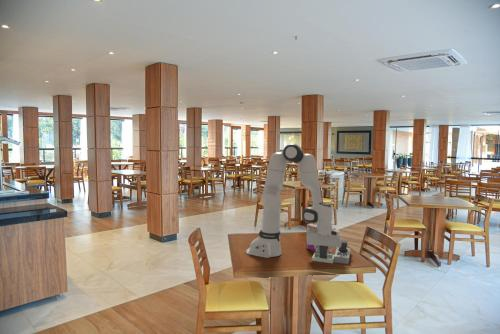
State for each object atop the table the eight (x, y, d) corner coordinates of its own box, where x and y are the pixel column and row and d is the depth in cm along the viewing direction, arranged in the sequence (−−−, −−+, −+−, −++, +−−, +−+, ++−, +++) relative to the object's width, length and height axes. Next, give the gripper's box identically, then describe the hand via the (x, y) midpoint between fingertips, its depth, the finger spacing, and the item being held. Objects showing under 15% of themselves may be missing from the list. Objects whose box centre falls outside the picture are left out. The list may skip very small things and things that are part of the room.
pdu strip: (334, 263, 199) (334, 255, 199) (337, 253, 218) (337, 245, 218) (348, 265, 196) (348, 257, 196) (350, 254, 216) (350, 247, 215)
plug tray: (312, 261, 201) (312, 257, 201) (314, 256, 211) (314, 252, 211) (332, 264, 198) (333, 260, 197) (334, 258, 207) (334, 254, 207)
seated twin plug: (338, 255, 210) (338, 242, 209) (339, 252, 214) (339, 240, 214) (346, 255, 208) (347, 243, 208) (347, 253, 213) (347, 240, 212)
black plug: (318, 260, 203) (319, 246, 202) (319, 257, 207) (320, 244, 207) (327, 261, 201) (327, 247, 201) (327, 258, 206) (328, 245, 205)
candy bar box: (305, 248, 226) (306, 224, 225) (311, 247, 229) (311, 223, 228) (317, 253, 217) (317, 228, 216) (322, 252, 219) (323, 227, 218)
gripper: (305, 229, 203) (305, 252, 204) (341, 233, 197) (340, 256, 198) (307, 227, 209) (307, 249, 210) (342, 230, 203) (341, 253, 204)
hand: (323, 253), depth 204 cm, fingers open, 6 cm apart
